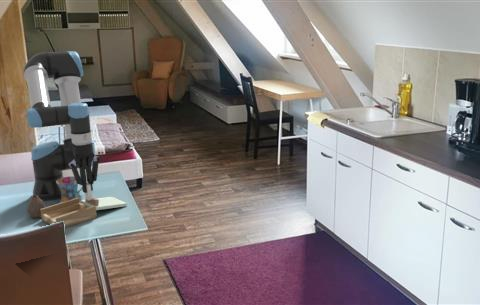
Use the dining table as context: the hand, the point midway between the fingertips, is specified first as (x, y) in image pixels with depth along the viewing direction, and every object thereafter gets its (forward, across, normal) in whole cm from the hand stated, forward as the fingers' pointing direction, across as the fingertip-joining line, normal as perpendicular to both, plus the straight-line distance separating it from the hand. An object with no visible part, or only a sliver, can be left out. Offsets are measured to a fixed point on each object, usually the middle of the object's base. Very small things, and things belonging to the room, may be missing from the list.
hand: (88, 199), depth 193 cm
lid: (+4, +6, 0) cm, 8 cm away
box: (+6, -9, 0) cm, 11 cm away
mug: (+6, 0, +15) cm, 16 cm away
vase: (+6, -17, +12) cm, 21 cm away
